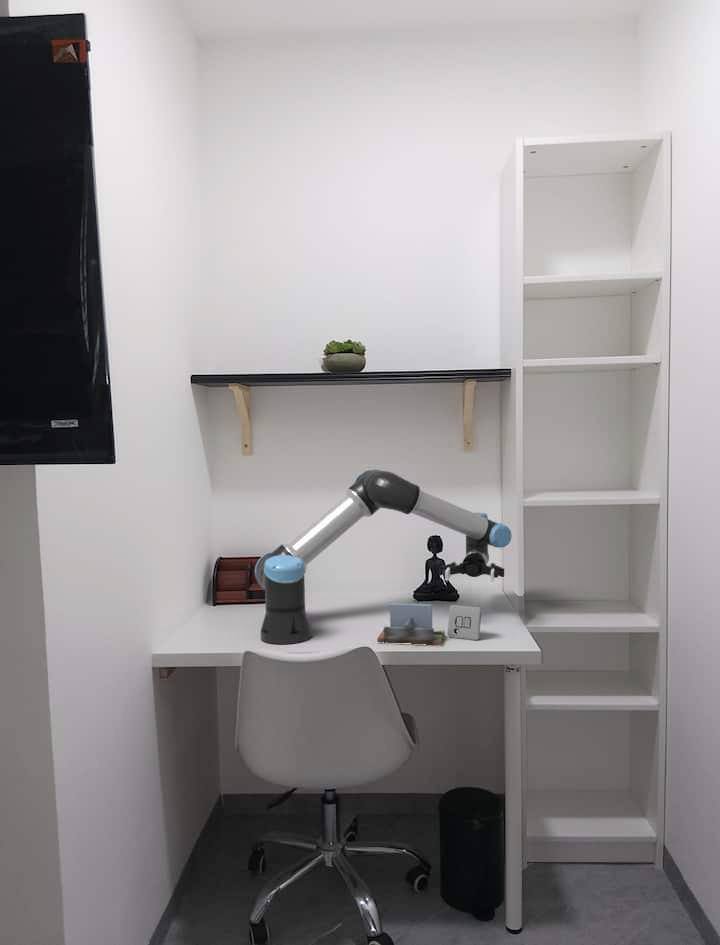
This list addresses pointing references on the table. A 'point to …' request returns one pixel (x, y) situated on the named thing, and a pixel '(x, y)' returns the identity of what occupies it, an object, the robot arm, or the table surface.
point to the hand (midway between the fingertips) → (468, 576)
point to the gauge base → (411, 635)
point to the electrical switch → (464, 622)
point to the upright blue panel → (411, 616)
